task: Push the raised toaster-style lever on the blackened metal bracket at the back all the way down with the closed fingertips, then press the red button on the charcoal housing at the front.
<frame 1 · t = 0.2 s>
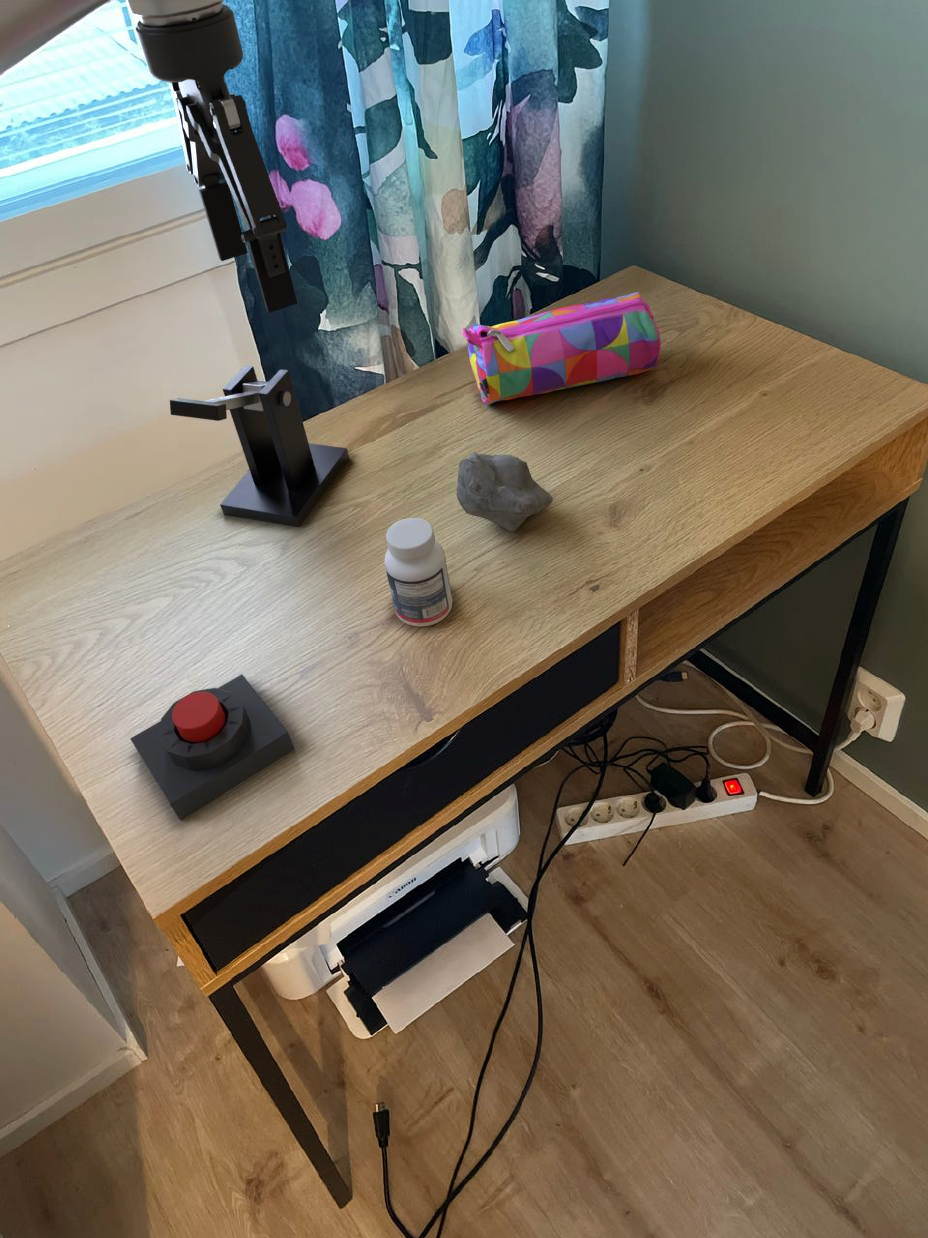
hand: (256, 280, 83), 21 cm above the table, tool pointing down, fingers open, 13 cm apart
button: (198, 716, 68), point 5 cm above the table, slide at 0.2 cm
pencil case: (561, 385, 104), on the table
bracket: (288, 485, 96), on the table
button box: (216, 751, 72), on the table
lever: (233, 401, 84), point 13 cm above the table, hinge at 25.0°
fossil: (505, 522, 88), on the table
pill bottle: (424, 608, 81), on the table
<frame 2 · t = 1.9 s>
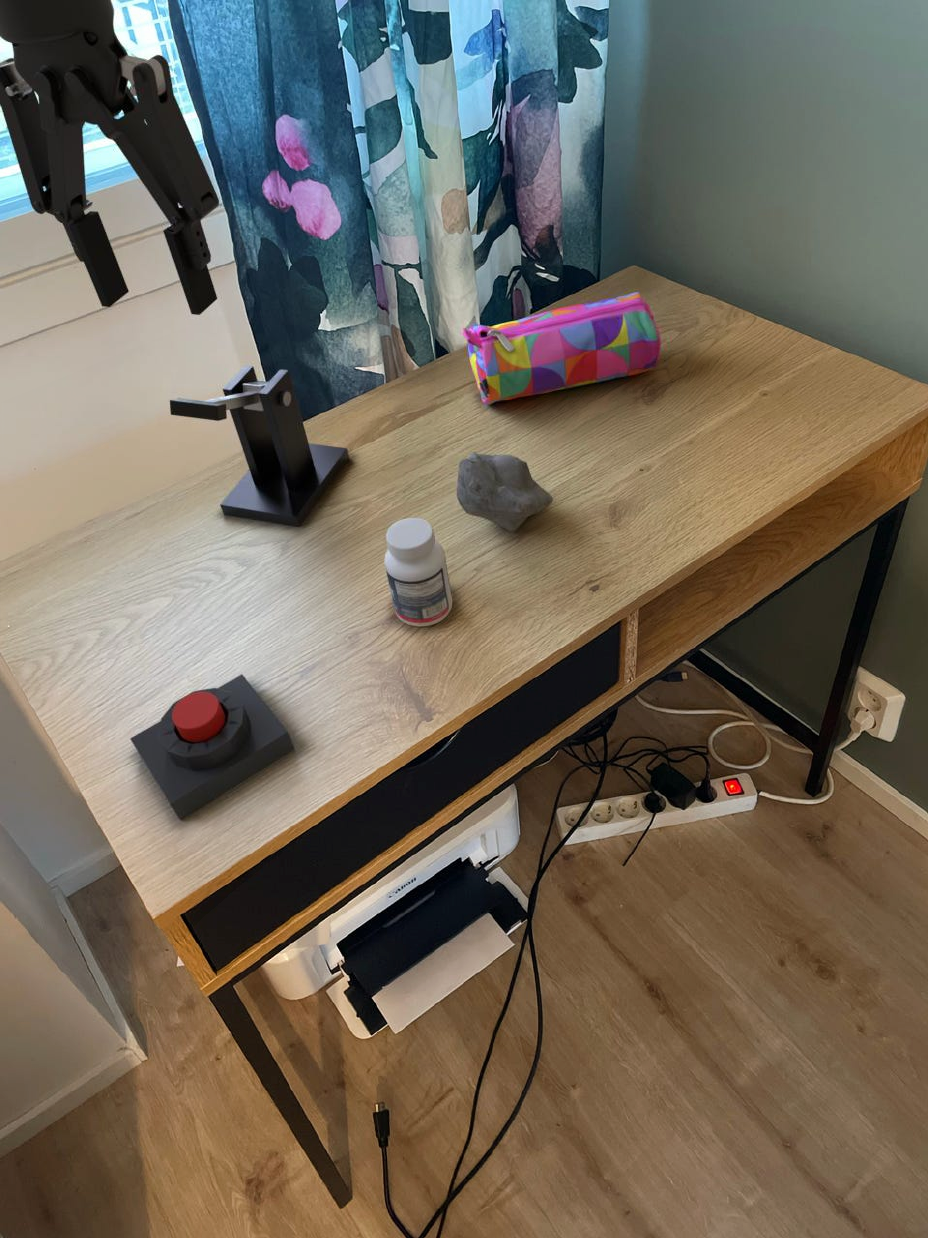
hand: (159, 302, 72), 25 cm above the table, tool pointing down, fingers open, 8 cm apart
nothing on the table moved.
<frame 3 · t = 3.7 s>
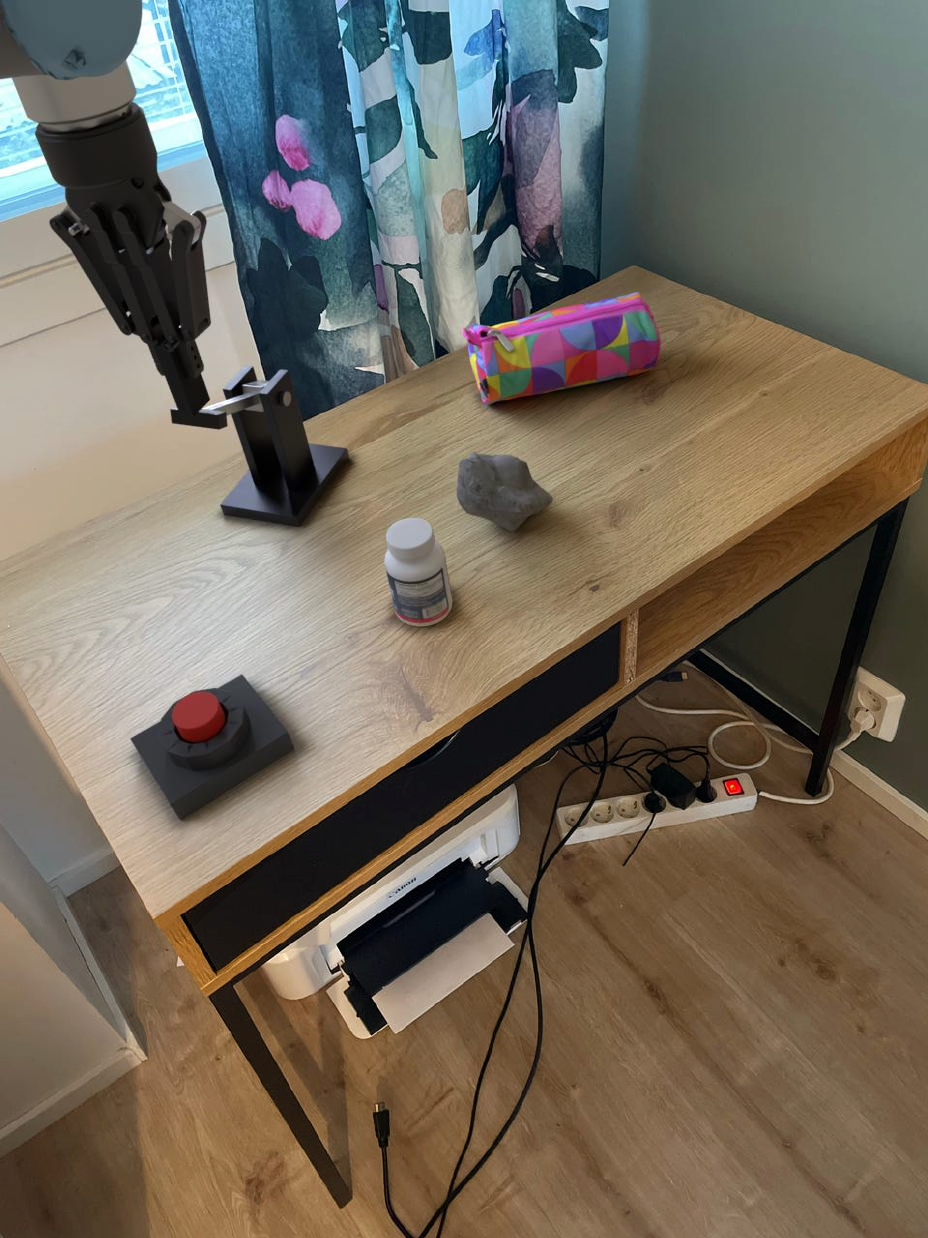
hand: (195, 406, 79), 16 cm above the table, tool pointing down, fingers closed
lever: (233, 405, 84), point 13 cm above the table, hinge at 20.7°, touching gripper
everything else where it was.
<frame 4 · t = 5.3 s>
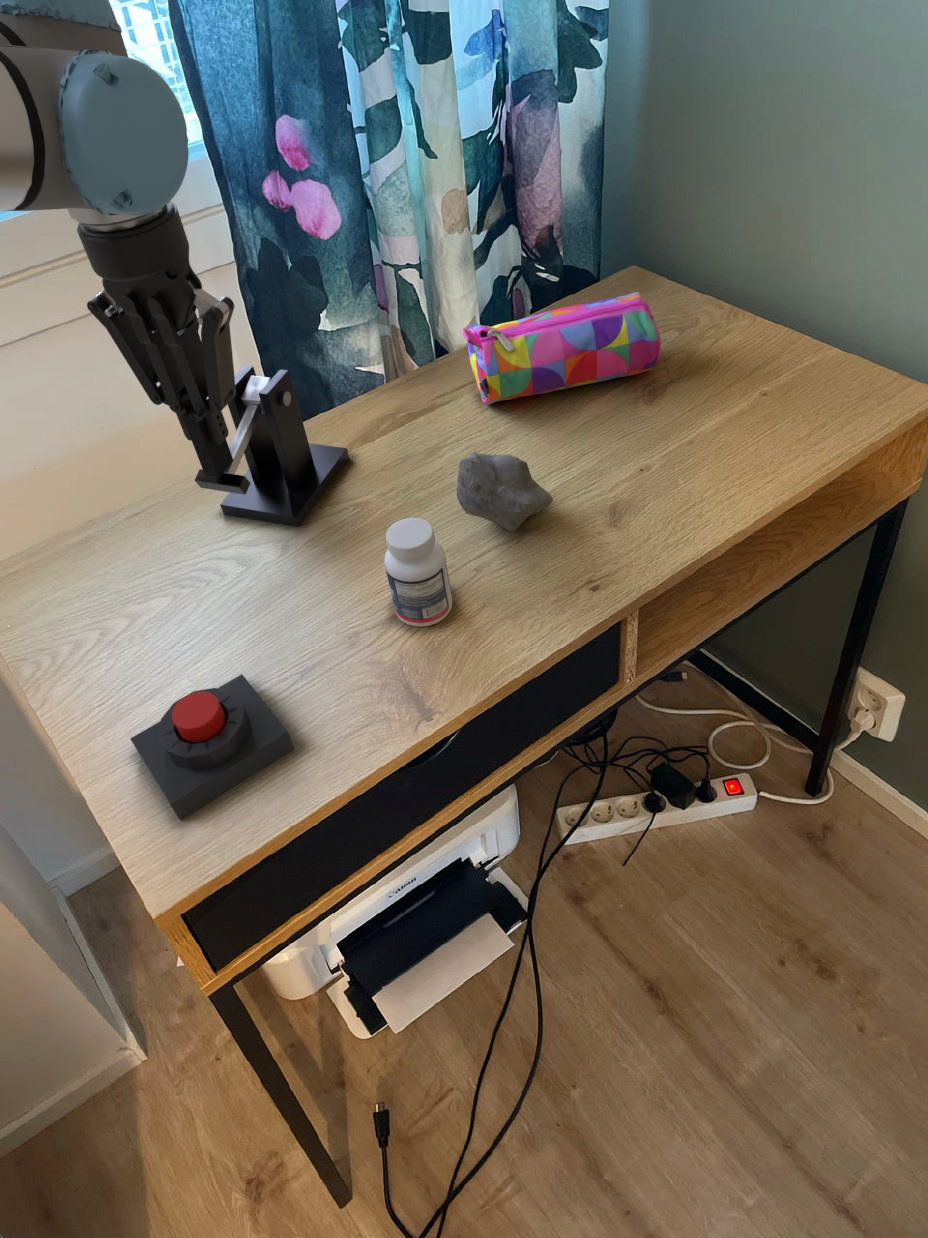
hand: (219, 467, 84), 9 cm above the table, tool pointing down, fingers closed
lever: (243, 434, 86), point 9 cm above the table, hinge at -20.7°, touching gripper
everything else where it was.
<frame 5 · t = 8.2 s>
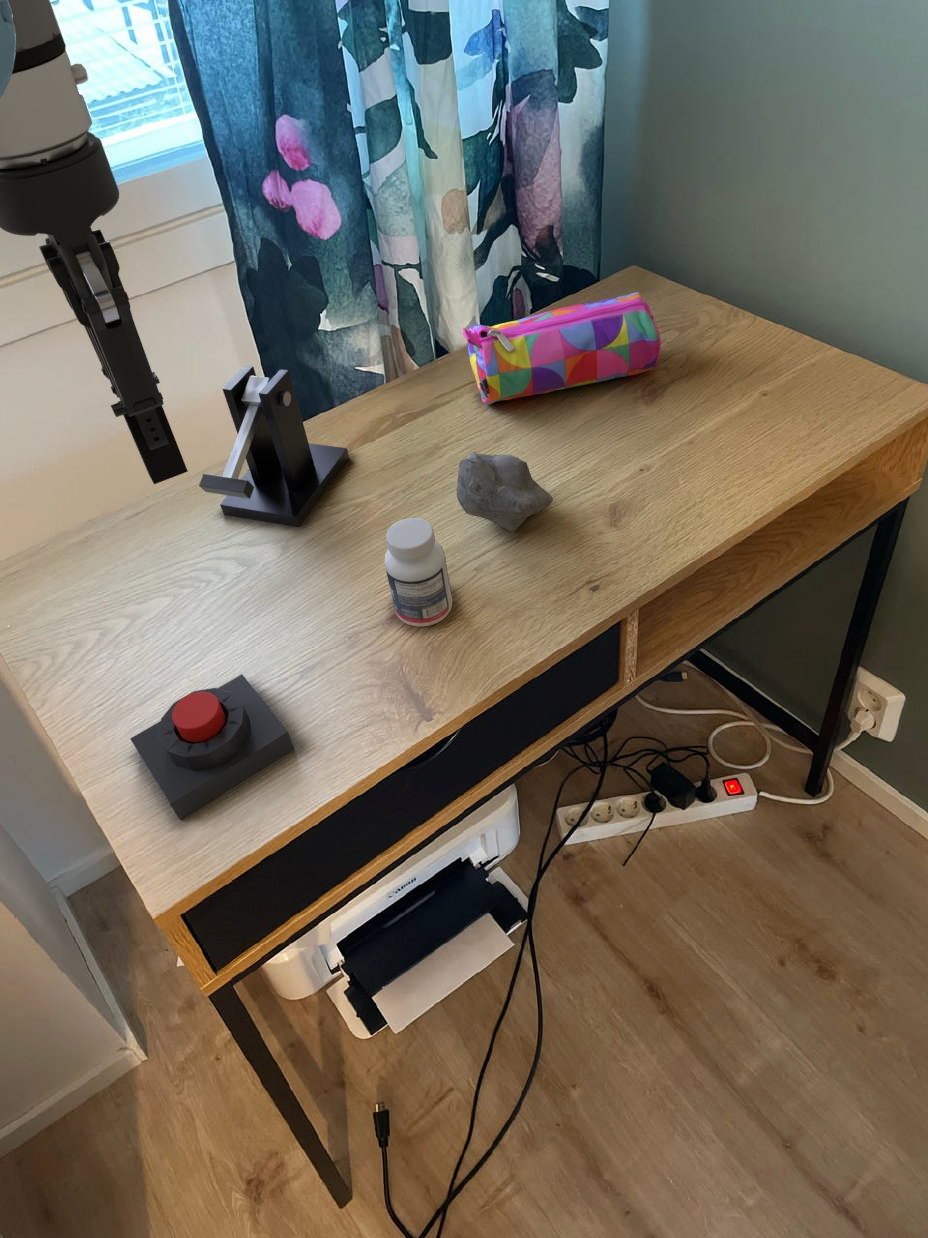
hand: (168, 473, 69), 17 cm above the table, tool pointing down, fingers closed
lever: (245, 436, 87), point 9 cm above the table, hinge at -25.4°
everything else where it was.
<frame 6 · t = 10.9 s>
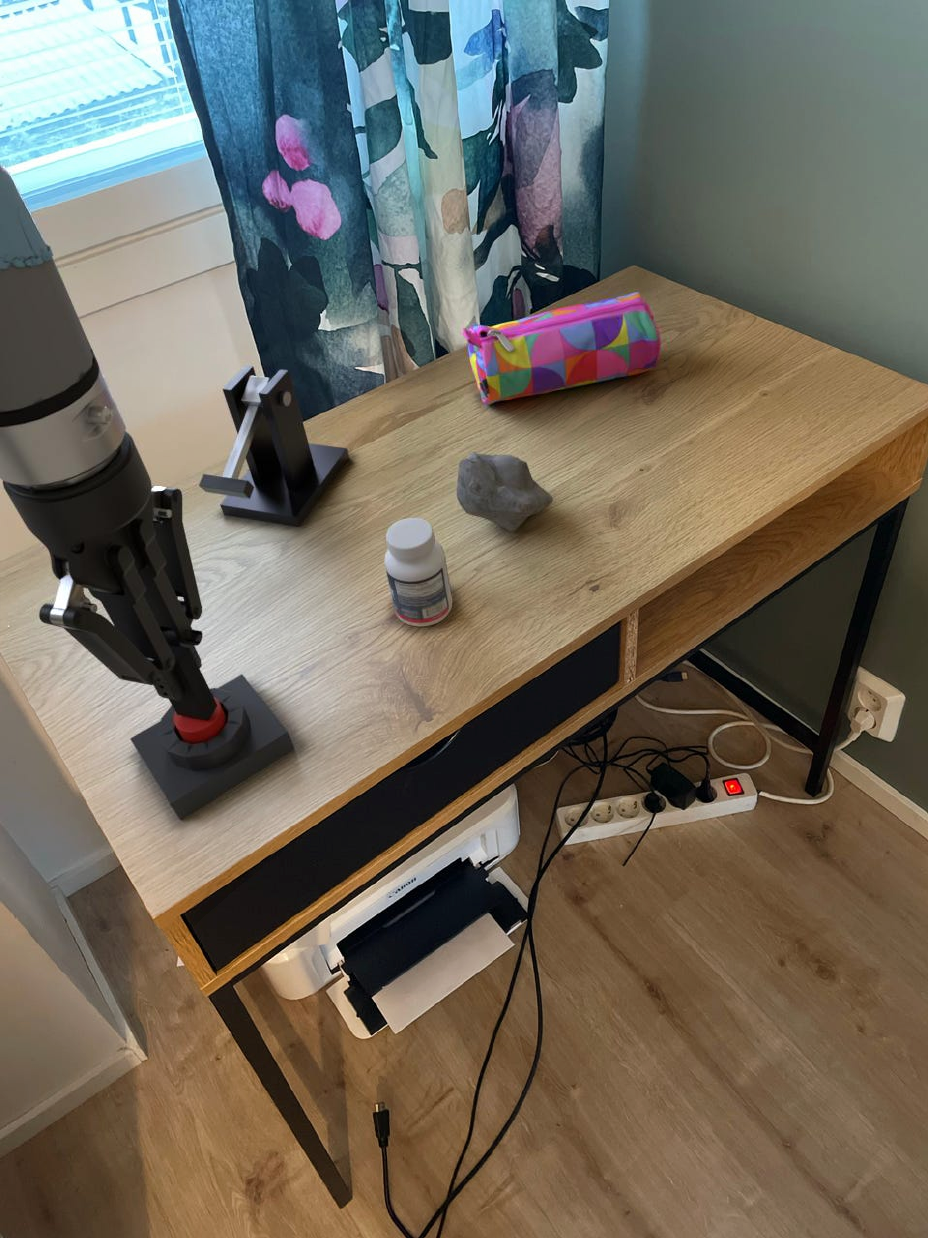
hand: (197, 709, 68), 5 cm above the table, tool pointing down, fingers closed
button: (200, 719, 69), point 4 cm above the table, slide at -0.2 cm, touching gripper
everything else where it was.
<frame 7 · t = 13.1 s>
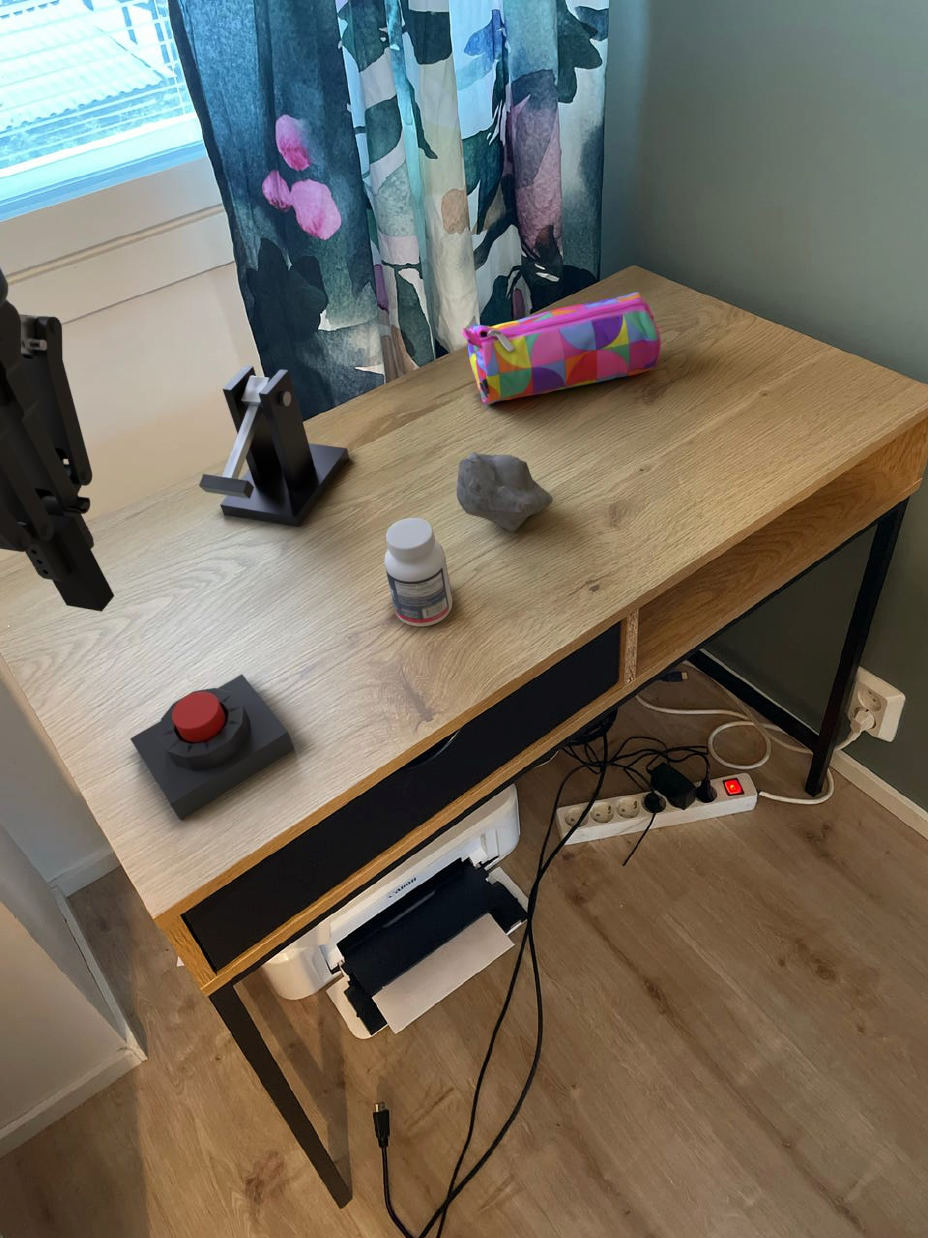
hand: (90, 600, 58), 18 cm above the table, tool pointing down, fingers closed
button: (199, 716, 68), point 5 cm above the table, slide at 0.1 cm
everything else where it was.
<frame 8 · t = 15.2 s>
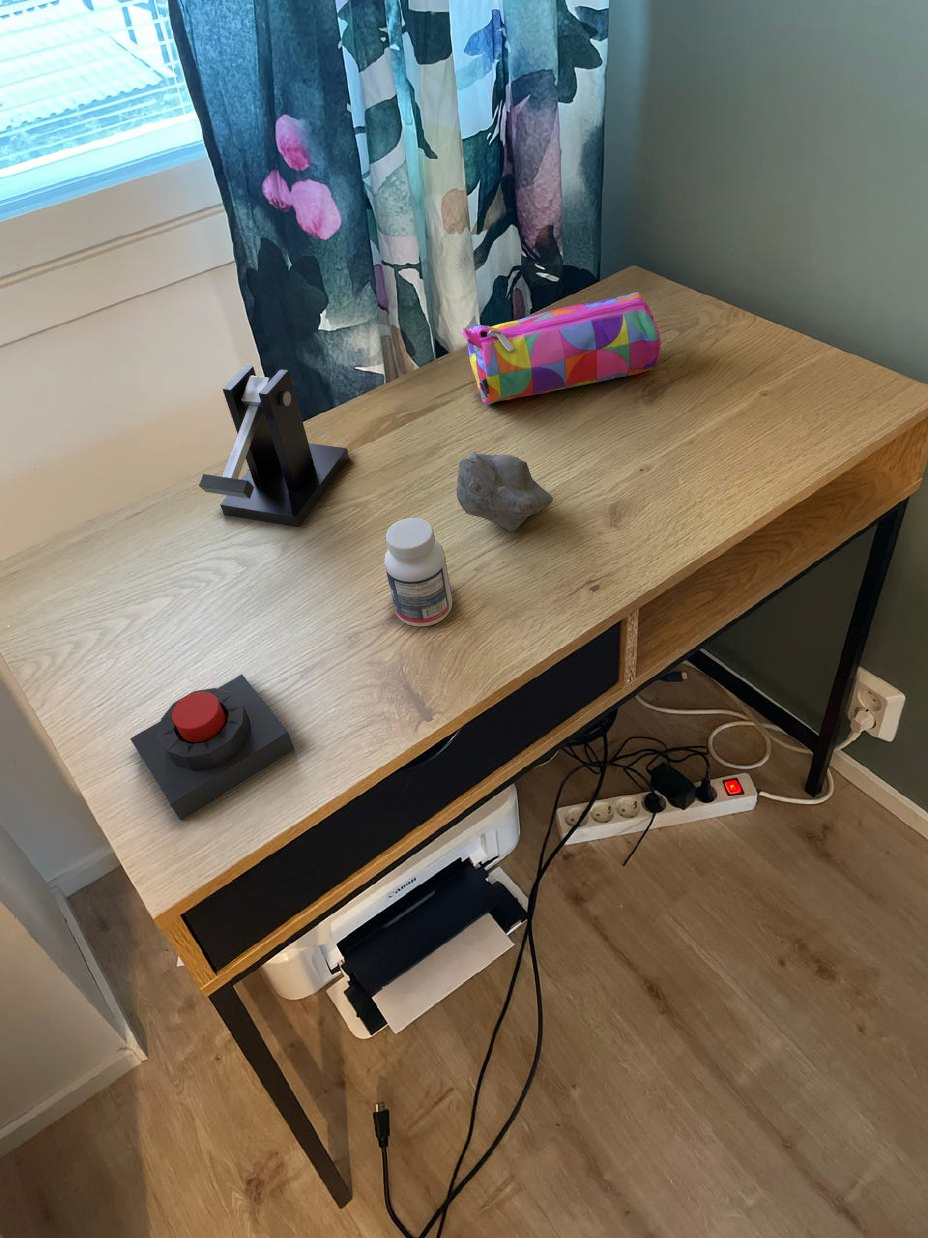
nothing on the table moved.
at the end: lever at -25° (first picture: +25°); button pushed in 1.0 cm at the most during the clip, back to where it started at the end; button slide at 0.1 cm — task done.
